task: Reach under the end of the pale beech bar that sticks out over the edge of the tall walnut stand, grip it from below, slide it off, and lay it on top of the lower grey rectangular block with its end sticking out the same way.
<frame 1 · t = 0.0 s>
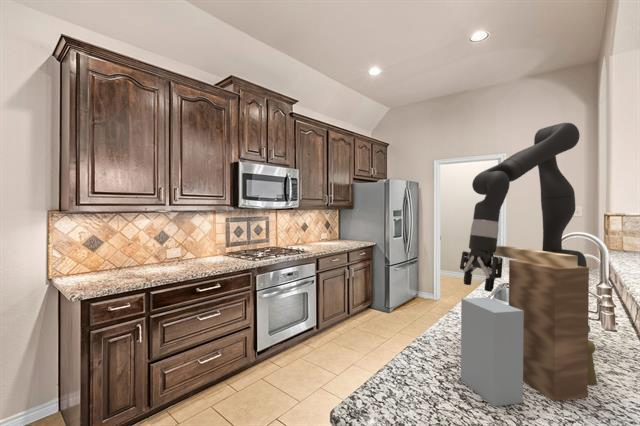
hand: (477, 287, 96), 22 cm above the countertop, tool pointing down, fingers open, 8 cm apart
tall walnut stand: (545, 383, 83), on the countertop
beech bar: (530, 260, 88), point 32 cm above the countertop, touching tall walnut stand
grey rectangular block: (489, 390, 79), on the countertop
cork: (582, 380, 85), on the countertop
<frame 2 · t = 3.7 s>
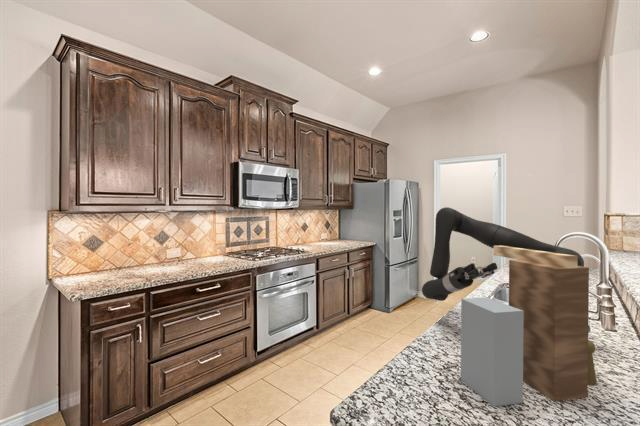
hand: (485, 265, 105), 28 cm above the countertop, tool pointing upward, fingers open, 8 cm apart
nothing on the countertop moved.
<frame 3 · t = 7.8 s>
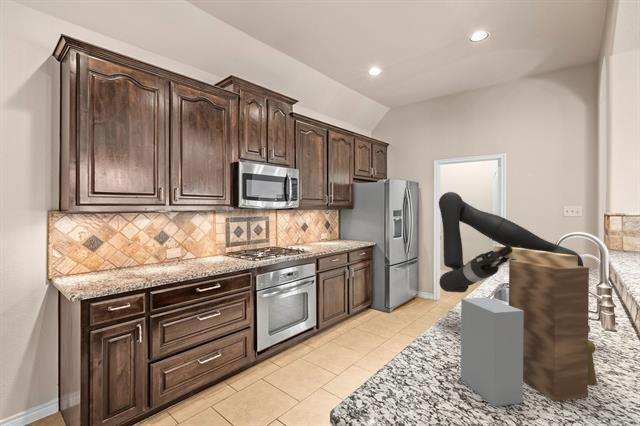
hand: (515, 248, 93), 35 cm above the countertop, tool pointing upward, fingers closed on beech bar, 3 cm apart
beech bar: (530, 260, 88), point 32 cm above the countertop, touching gripper, tall walnut stand
everything else where it was.
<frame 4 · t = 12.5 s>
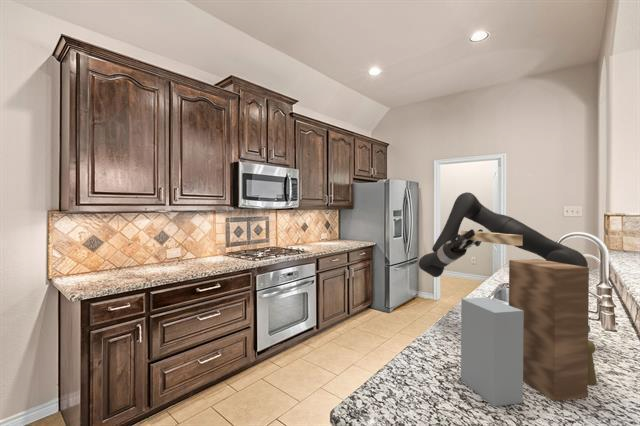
hand: (477, 231, 108), 39 cm above the countertop, tool pointing upward, fingers closed on beech bar, 3 cm apart
beech bar: (488, 241, 103), point 36 cm above the countertop, touching gripper
everything else where it was.
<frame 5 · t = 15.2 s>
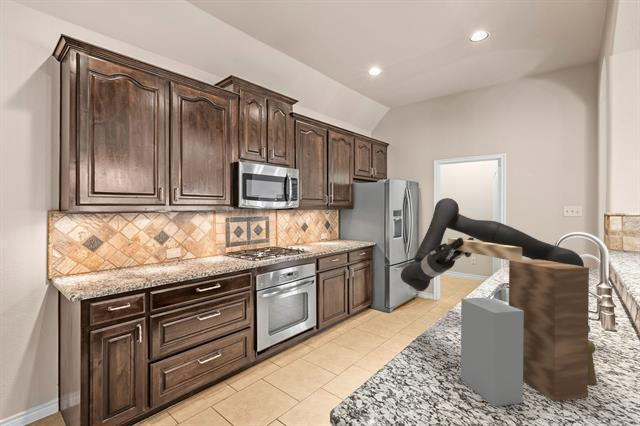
hand: (467, 240, 88), 37 cm above the countertop, tool pointing upward, fingers closed on beech bar, 3 cm apart
beech bar: (479, 253, 83), point 35 cm above the countertop, touching gripper
everything else where it was.
when the fingers open (27 cm above the countertop, at t = 17.2 s): beech bar drops 2 cm, resting on grey rectangular block.
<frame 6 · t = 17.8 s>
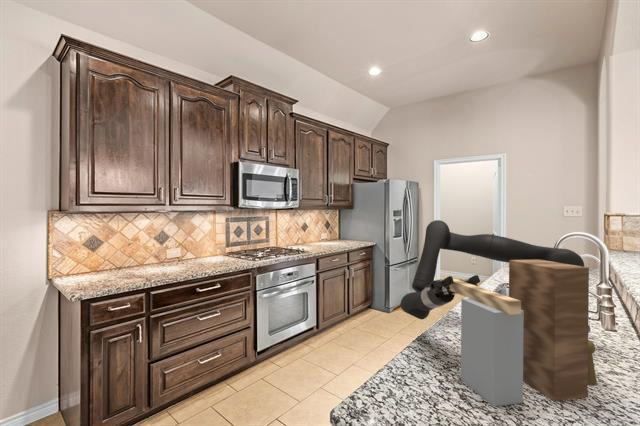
hand: (465, 278, 89), 26 cm above the countertop, tool pointing upward, fingers open, 8 cm apart
beech bar: (478, 299, 83), point 22 cm above the countertop, touching grey rectangular block
everything else where it was.
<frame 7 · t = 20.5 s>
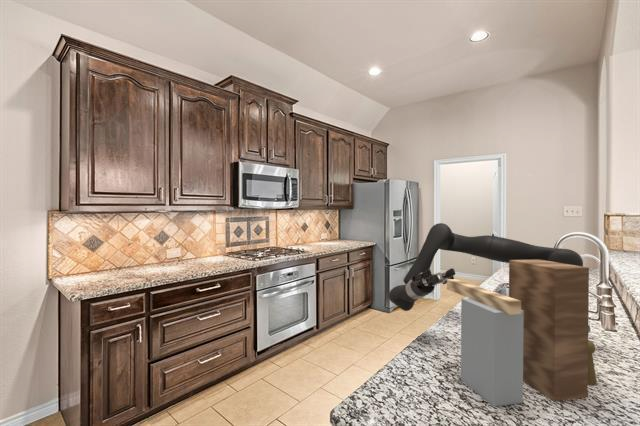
hand: (441, 271, 101), 26 cm above the countertop, tool pointing upward, fingers open, 8 cm apart
nothing on the countertop moved.
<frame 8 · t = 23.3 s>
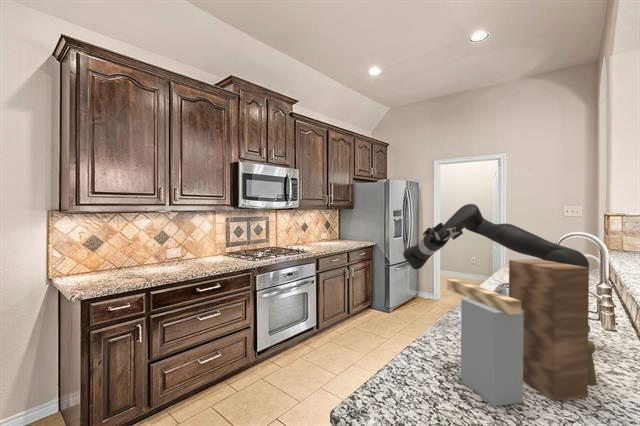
hand: (452, 224, 116), 41 cm above the countertop, tool pointing upward, fingers open, 8 cm apart
nothing on the countertop moved.
at the end: beech bar inside the target area on the grey rectangular block (0.4 cm from its centre), point 22.0 cm above the grey rectangular block's base; beech bar tilted 0°; the gripper is holding nothing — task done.
